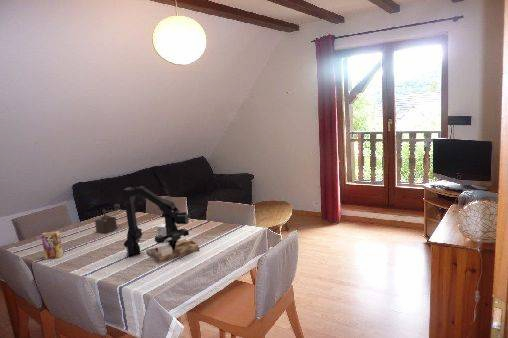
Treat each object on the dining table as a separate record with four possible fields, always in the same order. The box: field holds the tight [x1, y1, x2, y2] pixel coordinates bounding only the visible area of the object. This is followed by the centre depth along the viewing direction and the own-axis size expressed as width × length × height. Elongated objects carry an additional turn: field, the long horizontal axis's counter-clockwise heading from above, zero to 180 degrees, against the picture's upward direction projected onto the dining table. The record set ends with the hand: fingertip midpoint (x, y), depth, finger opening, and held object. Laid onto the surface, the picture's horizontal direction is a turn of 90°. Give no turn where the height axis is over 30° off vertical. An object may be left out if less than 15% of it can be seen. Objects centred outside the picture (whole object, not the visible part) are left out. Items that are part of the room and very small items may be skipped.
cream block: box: [157, 243, 172, 257], centre depth 202 cm, size 6×6×4 cm
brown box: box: [94, 203, 121, 235], centre depth 258 cm, size 16×11×18 cm
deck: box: [145, 238, 200, 264], centre depth 209 cm, size 25×19×4 cm
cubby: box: [175, 239, 199, 253], centre depth 210 cm, size 12×10×2 cm
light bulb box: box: [156, 223, 169, 244], centre depth 227 cm, size 11×7×11 cm, turn 74°
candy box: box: [40, 231, 64, 260], centre depth 213 cm, size 9×4×15 cm, turn 96°
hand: (173, 249), depth 205 cm, fingers closed
